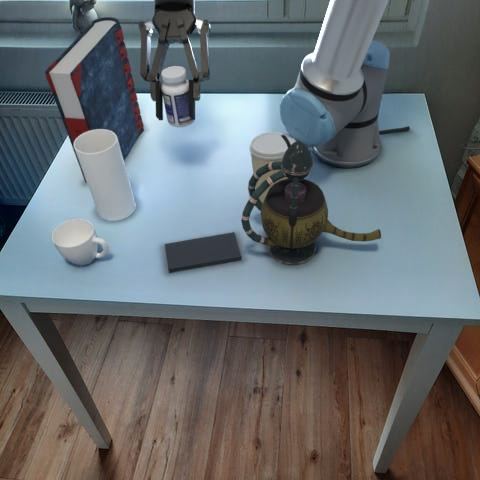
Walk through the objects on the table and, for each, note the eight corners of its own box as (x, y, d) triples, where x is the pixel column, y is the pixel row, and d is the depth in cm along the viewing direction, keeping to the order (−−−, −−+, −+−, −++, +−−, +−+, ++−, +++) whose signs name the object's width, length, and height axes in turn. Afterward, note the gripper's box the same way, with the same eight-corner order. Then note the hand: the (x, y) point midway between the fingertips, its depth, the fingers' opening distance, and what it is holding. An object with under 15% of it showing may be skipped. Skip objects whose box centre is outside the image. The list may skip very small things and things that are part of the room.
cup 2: (74, 241, 95) (63, 216, 90) (120, 248, 94) (111, 222, 88) (57, 269, 91) (44, 244, 85) (105, 276, 89) (94, 251, 84)
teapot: (250, 224, 96) (246, 117, 77) (375, 232, 93) (402, 122, 75) (242, 267, 89) (236, 161, 70) (377, 277, 86) (408, 168, 67)
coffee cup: (303, 200, 99) (304, 146, 90) (263, 212, 97) (260, 158, 89) (285, 179, 105) (284, 126, 96) (246, 190, 103) (242, 138, 95)
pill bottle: (197, 113, 98) (191, 64, 90) (192, 128, 95) (185, 79, 87) (170, 113, 99) (162, 64, 91) (164, 128, 95) (155, 78, 87)
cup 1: (141, 198, 103) (124, 131, 90) (126, 223, 98) (105, 156, 85) (107, 193, 104) (85, 126, 91) (91, 217, 99) (65, 150, 87)
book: (123, 123, 121) (95, 15, 102) (148, 125, 120) (125, 16, 100) (83, 183, 107) (41, 71, 87) (111, 186, 106) (75, 73, 86)
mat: (234, 235, 94) (234, 231, 94) (241, 260, 90) (241, 256, 89) (165, 247, 93) (164, 243, 92) (169, 272, 89) (168, 269, 88)
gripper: (226, -3, 91) (225, 122, 94) (131, 0, 93) (134, 123, 96) (221, -25, 84) (221, 111, 87) (119, -22, 85) (122, 113, 88)
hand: (175, 117), depth 91 cm, fingers closed on pill bottle, 6 cm apart
